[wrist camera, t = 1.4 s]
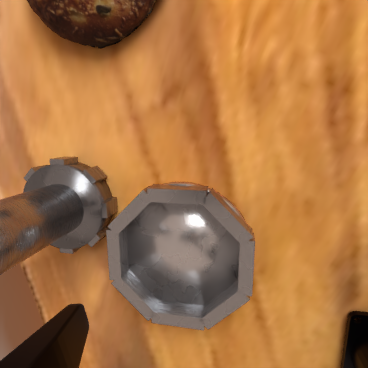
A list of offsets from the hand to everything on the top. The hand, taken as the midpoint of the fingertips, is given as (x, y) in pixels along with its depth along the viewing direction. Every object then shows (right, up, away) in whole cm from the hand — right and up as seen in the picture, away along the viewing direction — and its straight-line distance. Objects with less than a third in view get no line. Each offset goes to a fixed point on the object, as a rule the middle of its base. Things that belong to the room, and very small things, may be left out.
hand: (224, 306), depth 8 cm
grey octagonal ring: (-1, -2, +13) cm, 13 cm away
